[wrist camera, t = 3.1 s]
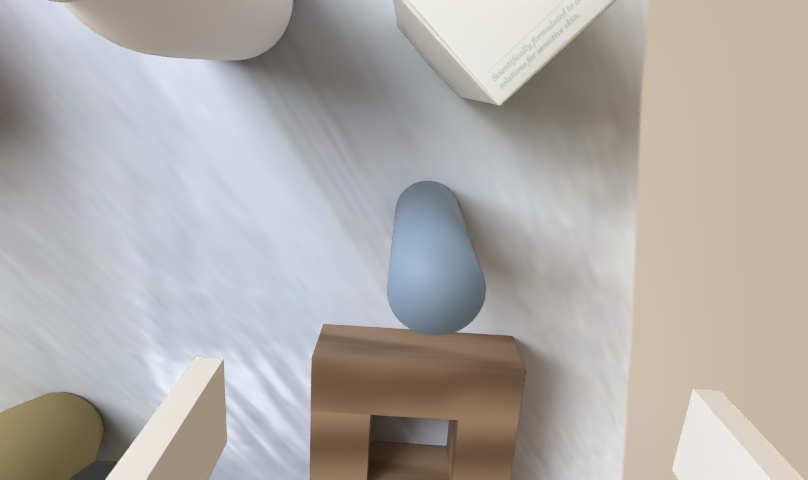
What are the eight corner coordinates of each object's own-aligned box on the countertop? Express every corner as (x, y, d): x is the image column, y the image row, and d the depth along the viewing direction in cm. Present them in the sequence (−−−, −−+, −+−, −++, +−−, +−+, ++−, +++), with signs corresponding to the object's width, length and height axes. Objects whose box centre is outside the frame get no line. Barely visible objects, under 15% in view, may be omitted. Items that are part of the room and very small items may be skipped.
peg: (456, 244, 38) (480, 338, 25) (393, 240, 38) (384, 332, 25) (462, 183, 37) (490, 247, 24) (397, 178, 37) (389, 241, 24)
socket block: (491, 490, 45) (500, 540, 40) (319, 479, 45) (309, 529, 40) (512, 336, 41) (525, 371, 36) (323, 324, 40) (311, 358, 36)
